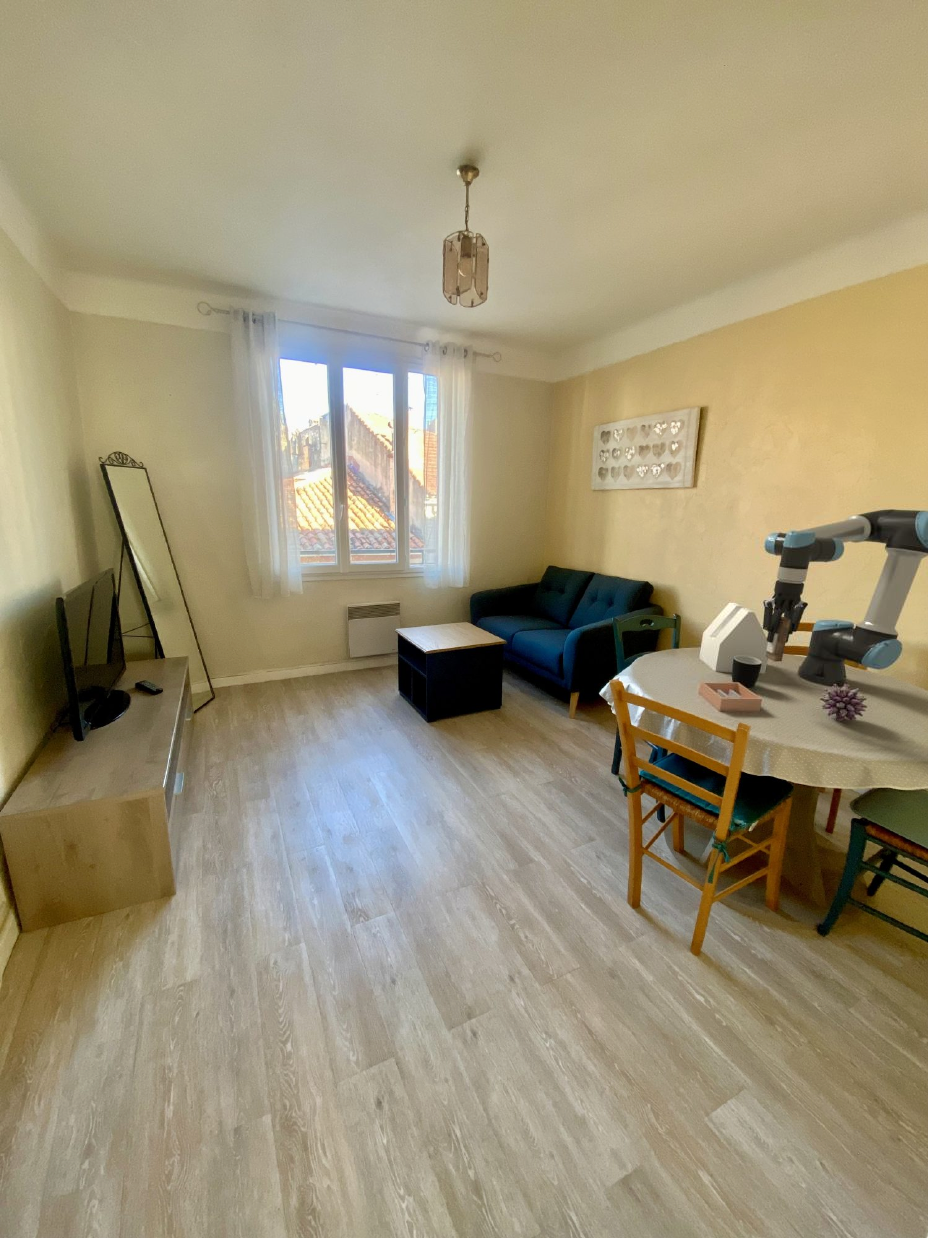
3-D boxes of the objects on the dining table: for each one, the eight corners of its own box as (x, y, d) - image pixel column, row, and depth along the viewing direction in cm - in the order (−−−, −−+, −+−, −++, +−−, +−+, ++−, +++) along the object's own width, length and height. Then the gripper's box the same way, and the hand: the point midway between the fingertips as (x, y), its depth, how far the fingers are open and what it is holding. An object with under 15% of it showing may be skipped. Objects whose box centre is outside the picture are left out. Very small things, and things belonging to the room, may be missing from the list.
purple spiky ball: (848, 731, 144) (858, 695, 140) (807, 714, 154) (815, 680, 151) (871, 725, 148) (880, 689, 145) (829, 708, 159) (838, 675, 155)
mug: (761, 691, 171) (766, 665, 169) (734, 689, 172) (739, 663, 170) (746, 678, 183) (751, 653, 180) (722, 676, 184) (726, 652, 181)
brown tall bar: (772, 656, 158) (781, 616, 154) (781, 661, 154) (790, 619, 150) (765, 656, 158) (774, 616, 154) (774, 661, 154) (783, 619, 150)
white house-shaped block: (715, 671, 189) (725, 611, 182) (699, 658, 204) (708, 601, 197) (765, 673, 188) (777, 612, 181) (745, 659, 203) (756, 603, 196)
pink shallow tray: (736, 694, 168) (738, 682, 167) (759, 711, 156) (762, 698, 154) (698, 693, 168) (700, 682, 167) (719, 711, 155) (721, 698, 154)
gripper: (805, 579, 153) (789, 648, 159) (758, 578, 152) (744, 647, 159) (823, 583, 146) (806, 656, 152) (774, 582, 145) (759, 655, 151)
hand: (774, 651), depth 155 cm, fingers closed on brown tall bar, 2 cm apart
